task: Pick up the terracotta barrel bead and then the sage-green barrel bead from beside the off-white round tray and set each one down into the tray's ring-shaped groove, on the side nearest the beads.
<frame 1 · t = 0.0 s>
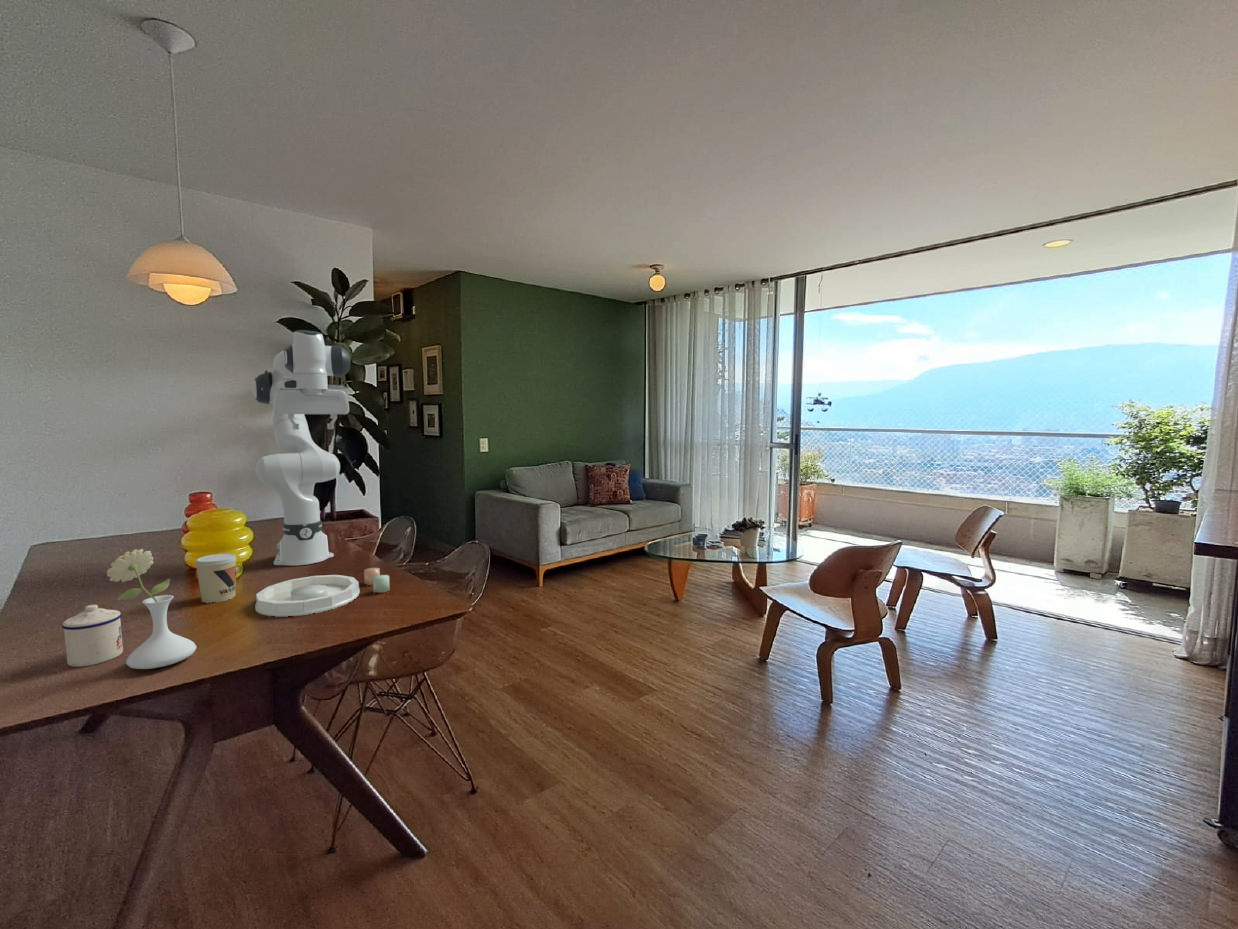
hand: (313, 429, 164), 48 cm above the table, tool pointing down, fingers open, 8 cm apart
groove tray: (309, 600, 151), on the table
teacup with lid: (93, 657, 116), on the table
coffee cup: (218, 599, 153), on the table
sage bead: (381, 591, 159), on the table
flower in vase: (158, 664, 113), on the table
terracotta bead: (372, 583, 167), on the table
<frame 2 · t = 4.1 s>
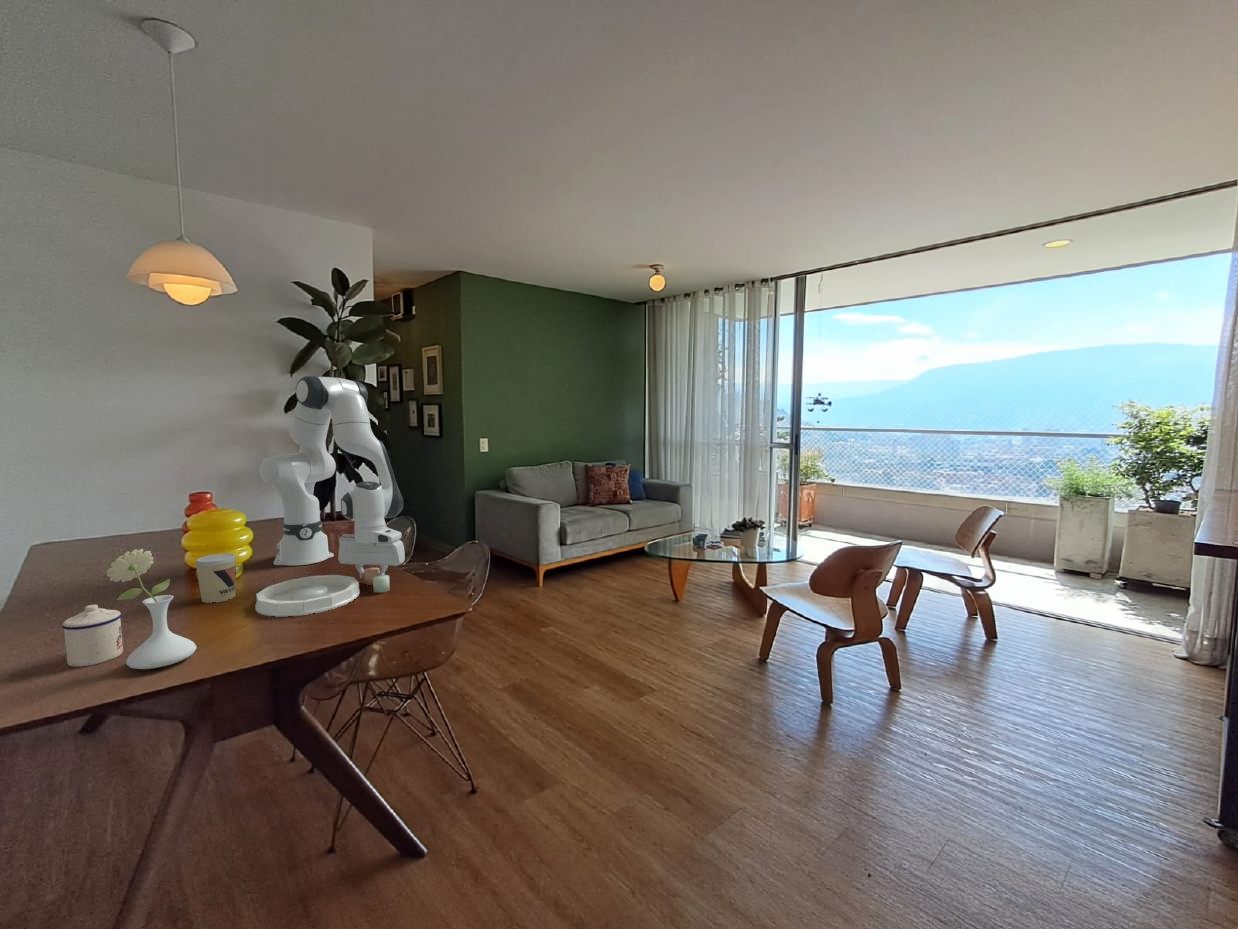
hand: (372, 578, 166), 2 cm above the table, tool pointing down, fingers closed on terracotta bead, 4 cm apart
terracotta bead: (372, 583, 167), on the table, touching gripper
everything else where it was.
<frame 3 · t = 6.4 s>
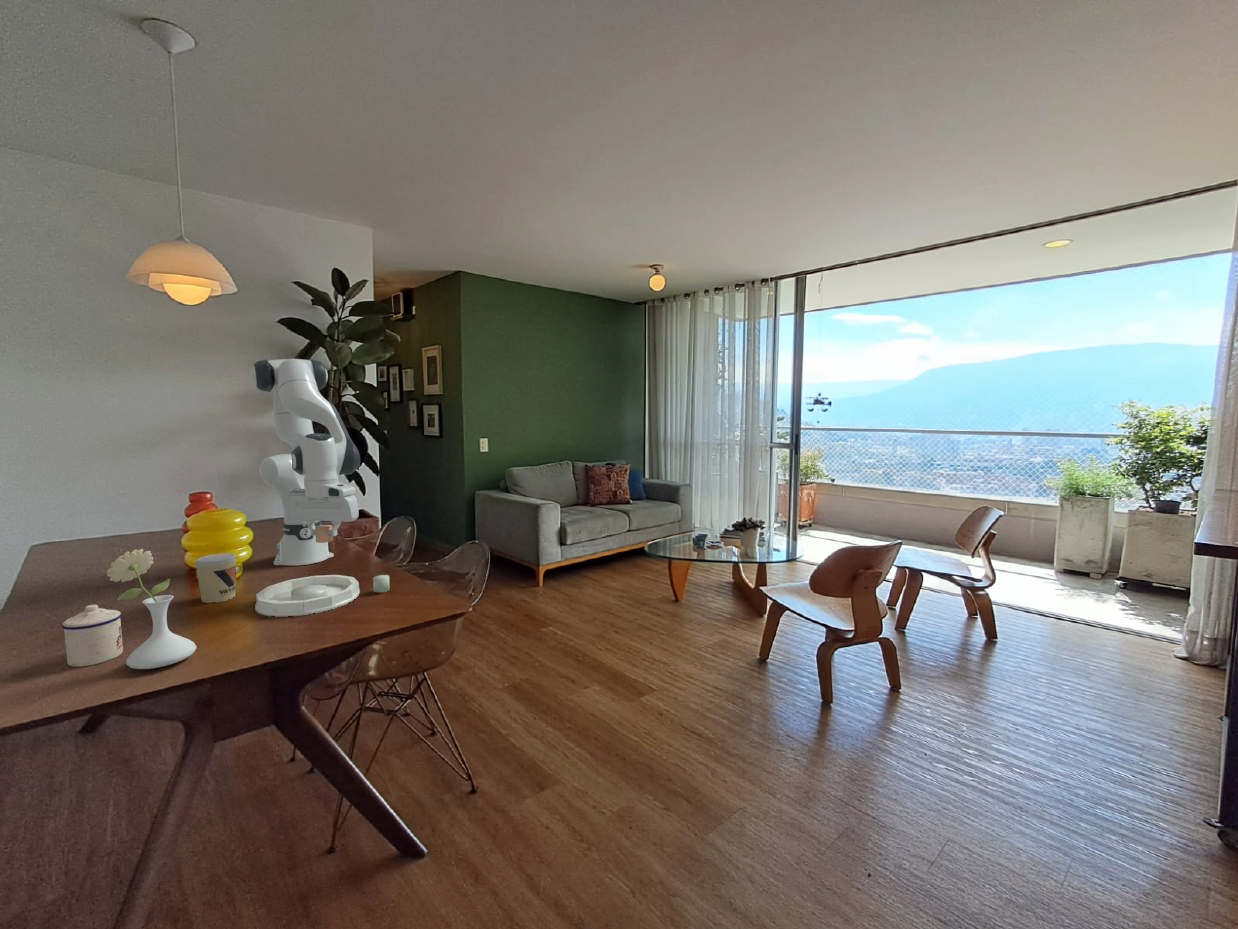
hand: (324, 535, 157), 17 cm above the table, tool pointing down, fingers closed on terracotta bead, 4 cm apart
terracotta bead: (324, 541, 157), point 15 cm above the table, touching gripper
everything else where it was.
when the fingers open (4 cm above the table, at t = 8.8 s): terracotta bead stays where it is, resting on groove tray.
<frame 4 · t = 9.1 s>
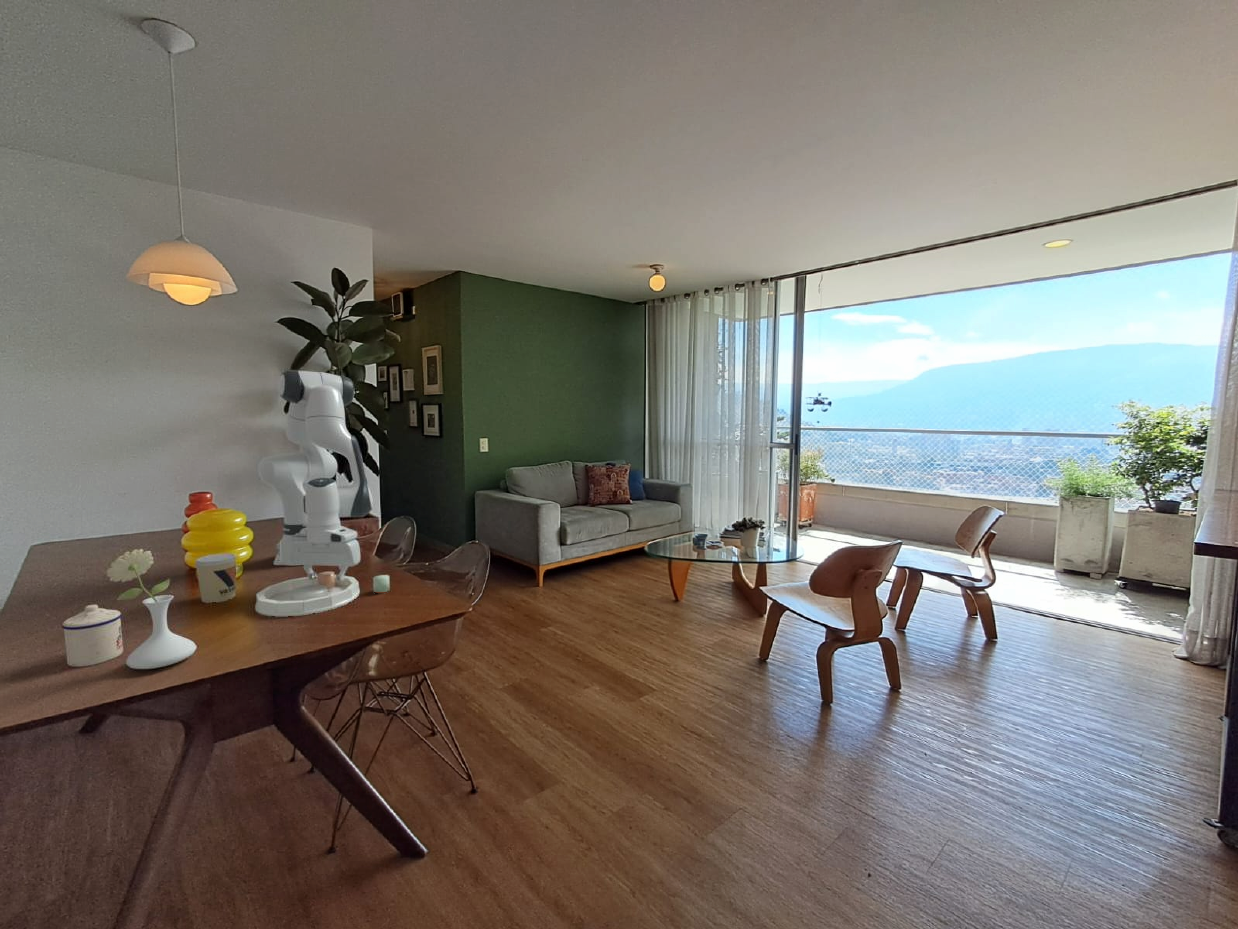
hand: (326, 579, 159), 4 cm above the table, tool pointing down, fingers open, 8 cm apart
terracotta bead: (326, 588, 159), point 1 cm above the table, touching groove tray
everything else where it was.
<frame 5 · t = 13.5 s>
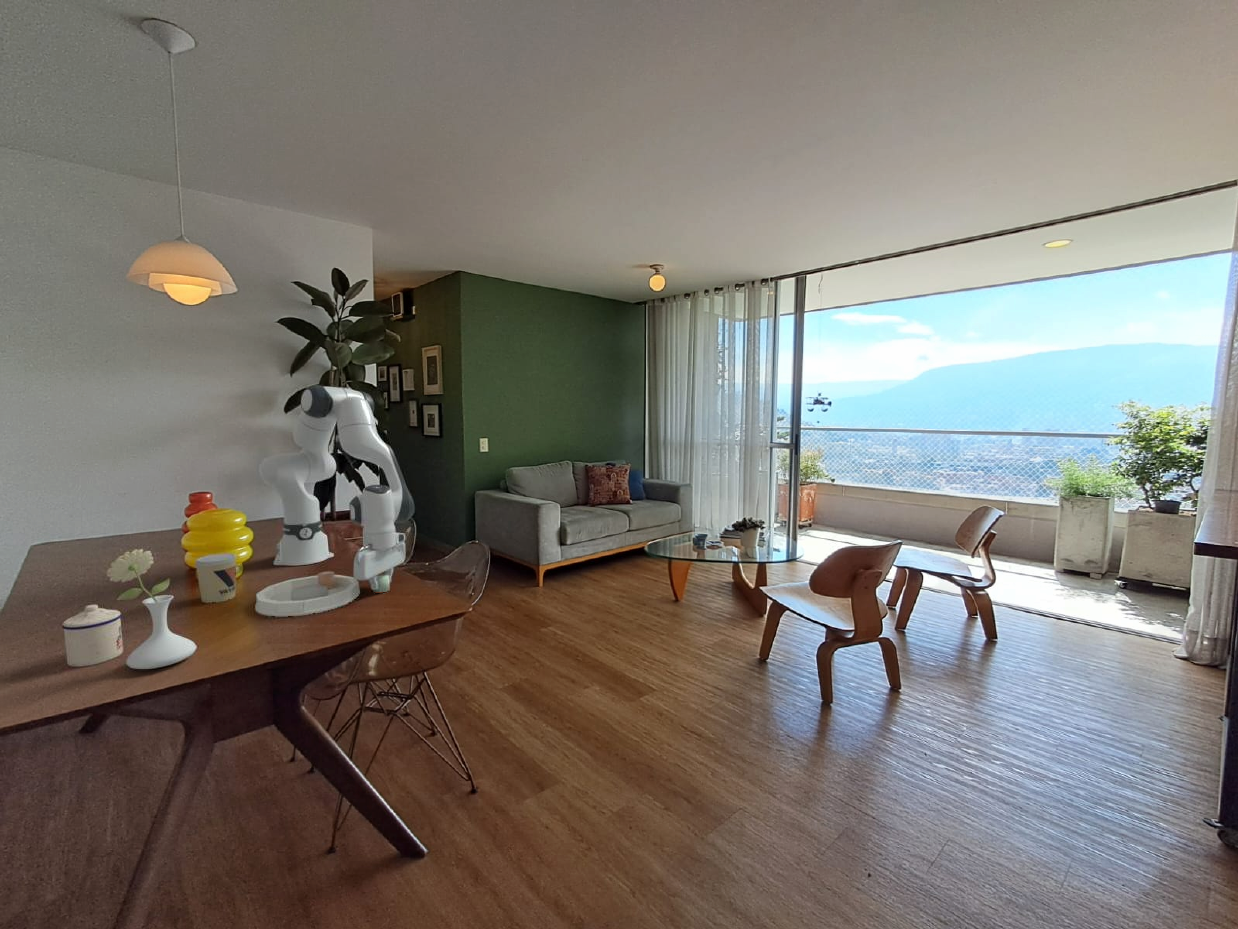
hand: (381, 586, 159), 2 cm above the table, tool pointing down, fingers closed on sage bead, 4 cm apart
sage bead: (381, 591, 159), on the table, touching gripper
everything else where it was.
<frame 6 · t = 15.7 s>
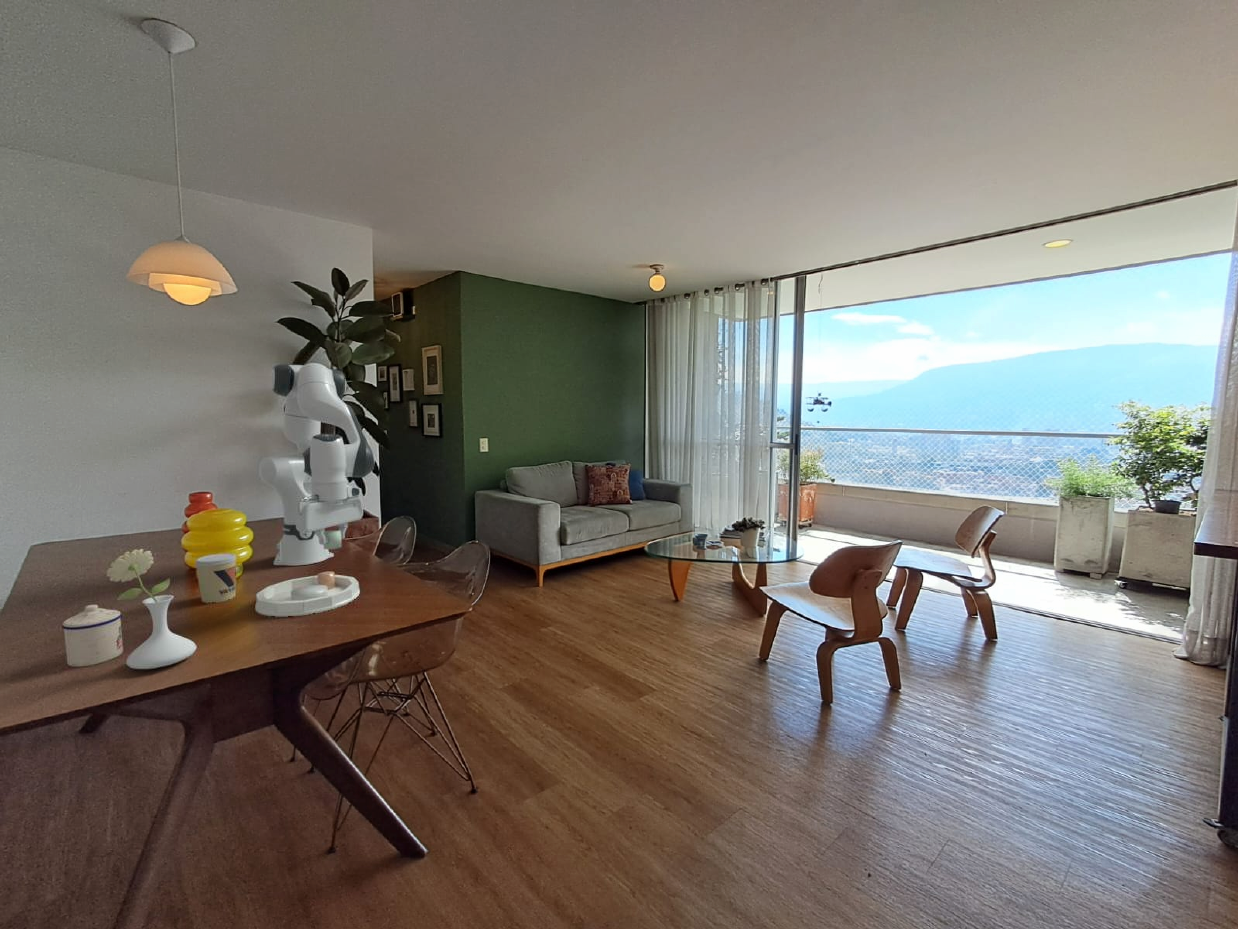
hand: (332, 541, 149), 17 cm above the table, tool pointing down, fingers closed on sage bead, 4 cm apart
sage bead: (332, 547, 149), point 15 cm above the table, touching gripper
everything else where it was.
when the fingers open (4 cm above the table, at t = 18.2 s): sage bead stays where it is, resting on groove tray.
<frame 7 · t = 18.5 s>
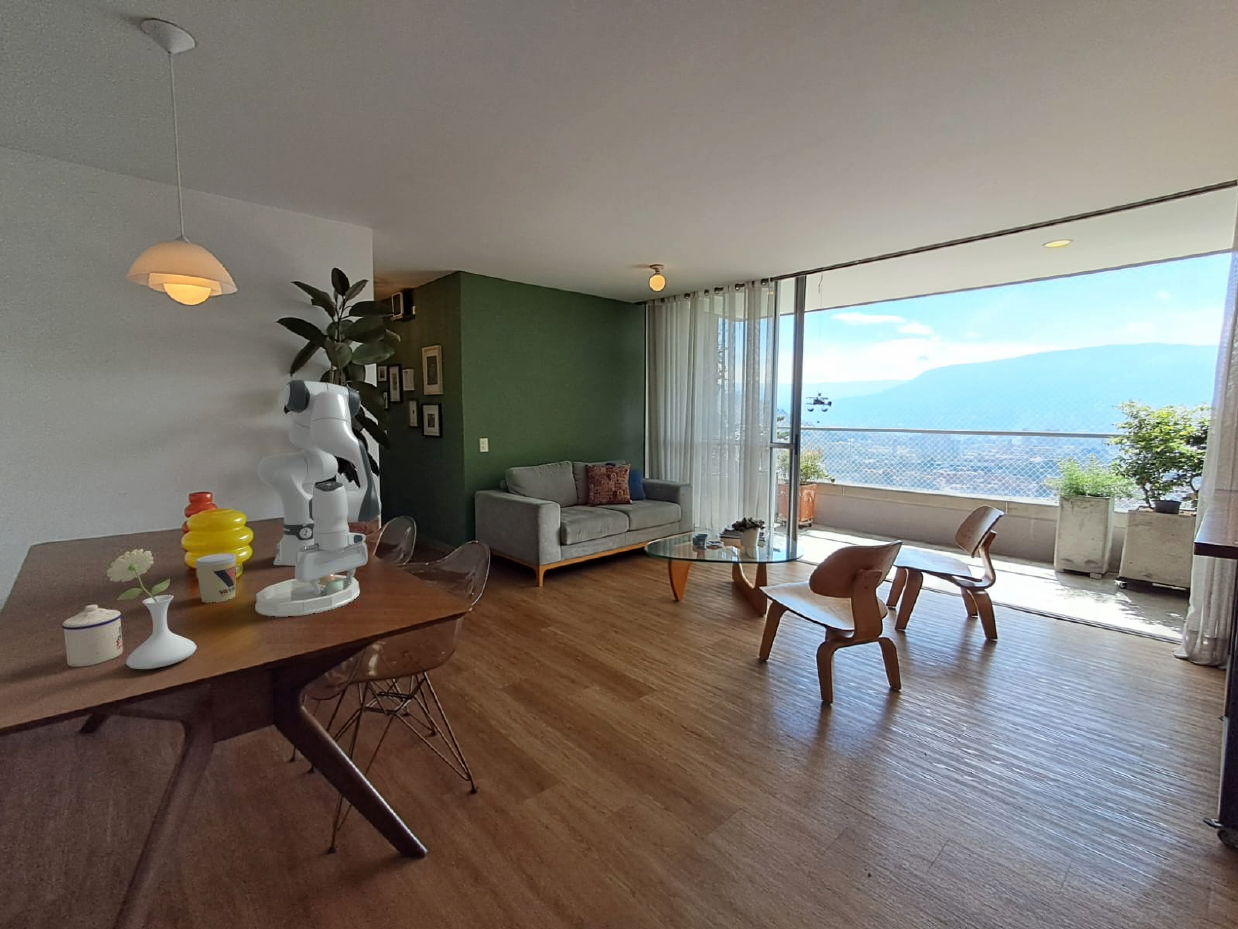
hand: (334, 588, 150), 4 cm above the table, tool pointing down, fingers open, 8 cm apart
sage bead: (334, 597, 151), point 1 cm above the table, touching groove tray
everything else where it was.
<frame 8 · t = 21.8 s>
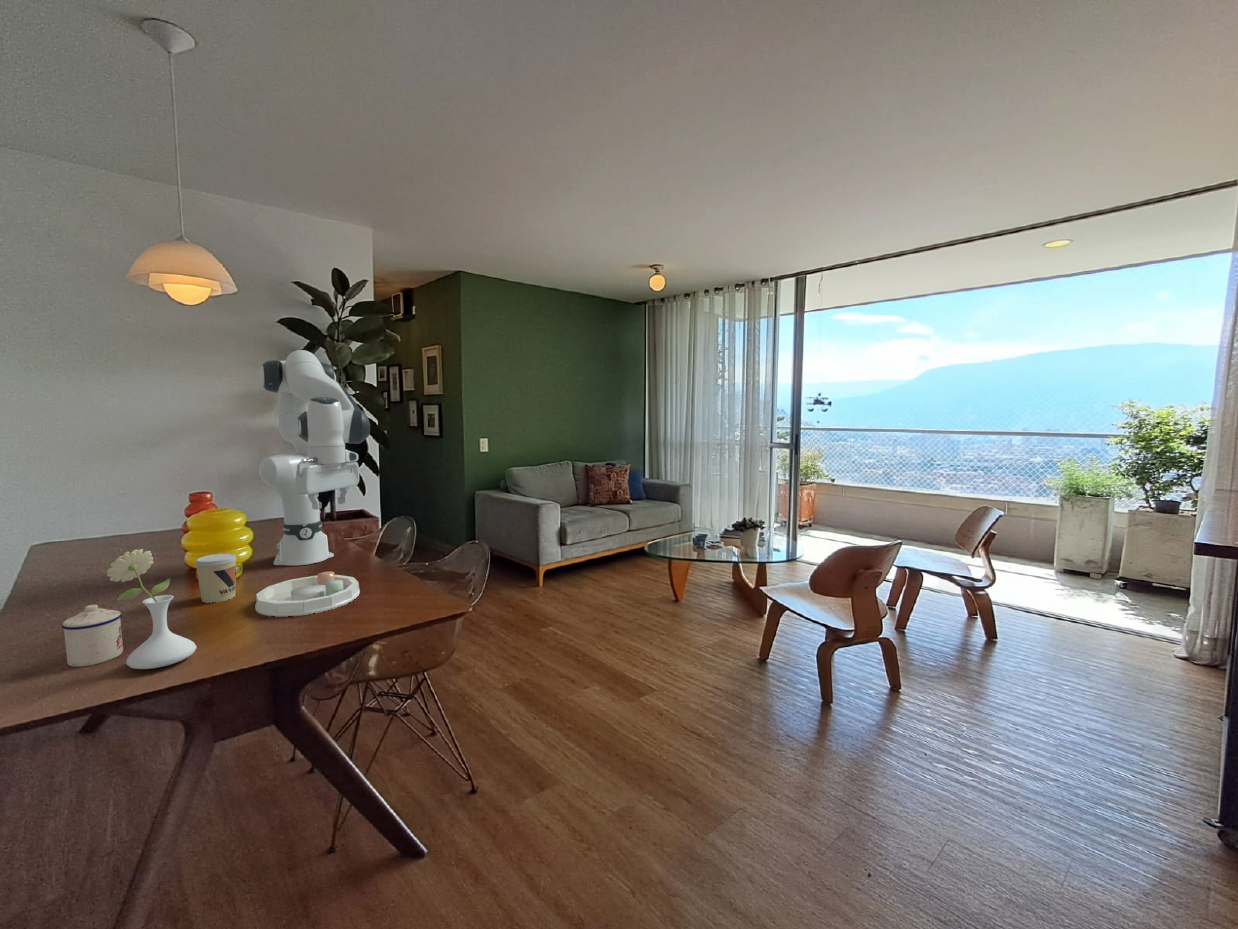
hand: (330, 506, 148), 27 cm above the table, tool pointing down, fingers open, 8 cm apart
nothing on the table moved.
at the end: terracotta bead 0.1 cm from the target spot on the groove tray, point 1.0 cm above the groove tray's base; sage bead 0.1 cm from the target spot on the groove tray, point 1.0 cm above the groove tray's base; sage bead tilted 0° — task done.
